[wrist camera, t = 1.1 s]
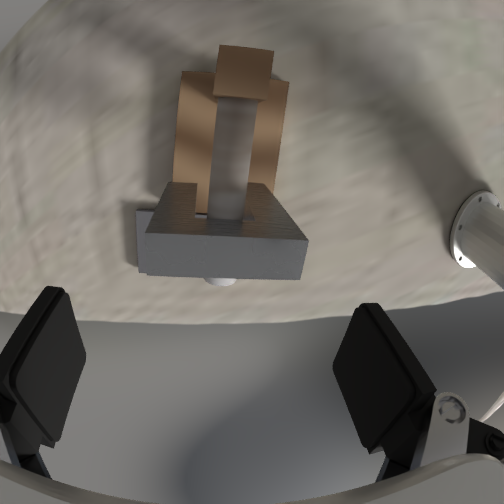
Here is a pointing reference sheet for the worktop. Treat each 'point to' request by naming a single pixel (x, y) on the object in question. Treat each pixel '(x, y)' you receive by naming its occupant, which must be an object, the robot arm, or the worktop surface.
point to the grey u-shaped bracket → (223, 238)
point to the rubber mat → (141, 226)
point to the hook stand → (229, 131)
